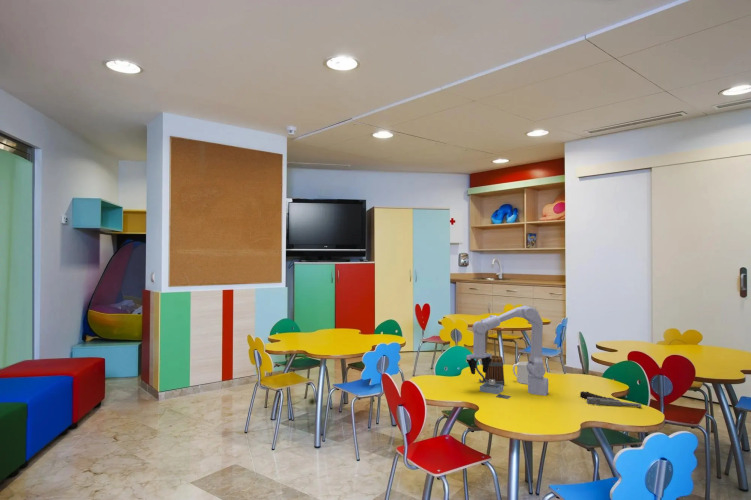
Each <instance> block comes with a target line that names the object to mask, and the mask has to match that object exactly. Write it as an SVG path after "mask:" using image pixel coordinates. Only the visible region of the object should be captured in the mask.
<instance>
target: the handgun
mask: <svg viewBox="0 0 751 500" xmlns="http://www.w3.org/2000/svg"><path fill="white" fill-rule="evenodd" d="M579 395H580V396H579V397H580V398H581V397H582V398H581V399H583V398H584V400H586V399H587V400H586V403H587V404H588V405H589V404H593V405H595V404H596V405H595V406H598V405H599V406H601V404H603V405H602V406H612V405H613V406H612V407H614V406H615V407H636V408H642V403H634V402H624V401H621V400H619V399H615V398H613V397H606V396H602V395H599V394H594V393H591V392H589V391H580V393H579Z"/></svg>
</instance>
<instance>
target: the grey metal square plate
mask: <svg viewBox="0 0 751 500" xmlns="http://www.w3.org/2000/svg"><path fill="white" fill-rule="evenodd" d="M495 398H499V399H505V400H509V399H510V398H512V395H508V394H507V395H506V394H501V393H499V394H496V396H495Z"/></svg>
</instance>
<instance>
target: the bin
mask: <svg viewBox="0 0 751 500" xmlns="http://www.w3.org/2000/svg"><path fill="white" fill-rule="evenodd" d="M504 386H505V384H504V385H499V384H495V388H490V387H489V383H487V382H486V383H485V382H484V383H481V385H480V386H479V392H480V393H481V392H482V393H487V394H494V395H499V394H501V393H502V392H503V391H504V390H505V389H504V388H505V387H504Z"/></svg>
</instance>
